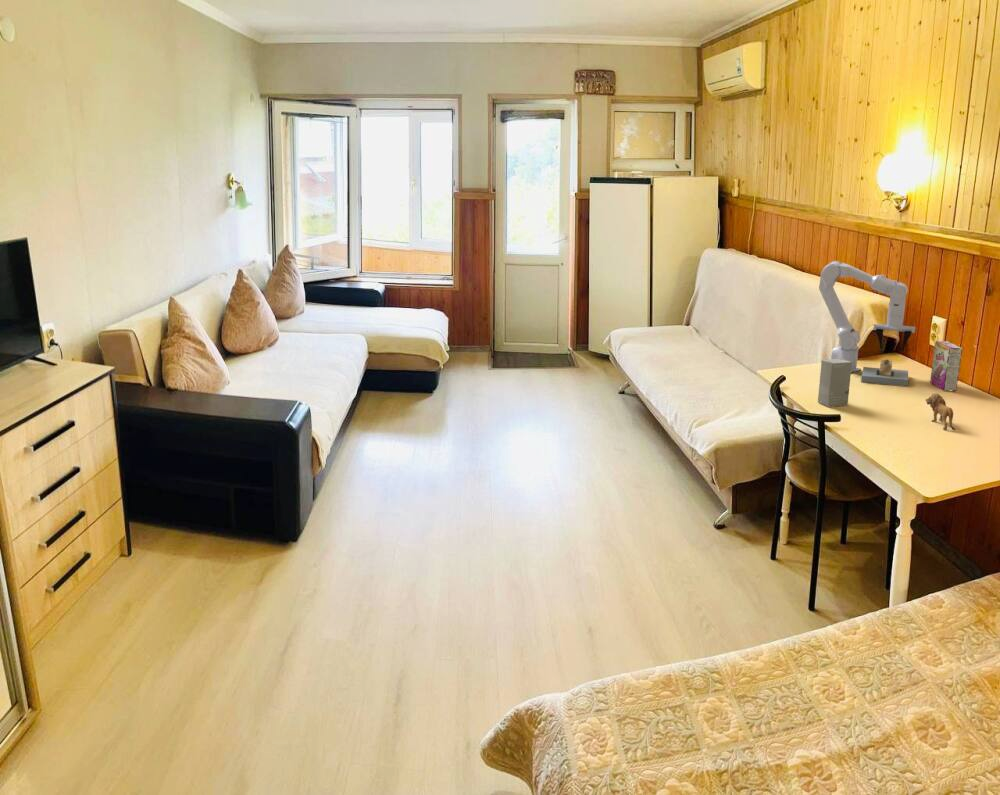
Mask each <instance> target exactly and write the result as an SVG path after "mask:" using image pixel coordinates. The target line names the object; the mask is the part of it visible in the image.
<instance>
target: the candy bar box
mask: <svg viewBox="0 0 1000 795" xmlns="http://www.w3.org/2000/svg"><path fill="white" fill-rule="evenodd" d="M934 342H935V343H934V348H933V355H932V356H933V358H932V365H931V373H930V381H929V383H930V384H931V383H932V384H931V385H933V386H935V387H936V386H937V388H938V387H939V388H938V389H939V390H941V389H942V391H943V390H944V391H943V392H950V391H949V390H956V391H957V388H958V382H959V375H960V368H961V367H960V366H961V361H962V354H963V348H962V347H960V346H958V345H956V344H954V343H952V342H950V341H949V340H948V341H947V340H936V341H934Z"/></svg>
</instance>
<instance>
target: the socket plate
mask: <svg viewBox="0 0 1000 795" xmlns="http://www.w3.org/2000/svg"><path fill="white" fill-rule="evenodd" d="M879 372H880V367H871V366H870V367H869V366H863V369H862V372H861V379H860V380H861V381H860V383H866V382H869V383H868V384H877V383H880V384H879V385H888V386H900V387H908V384H909V370H905V369H891V376H881V375H879Z"/></svg>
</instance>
